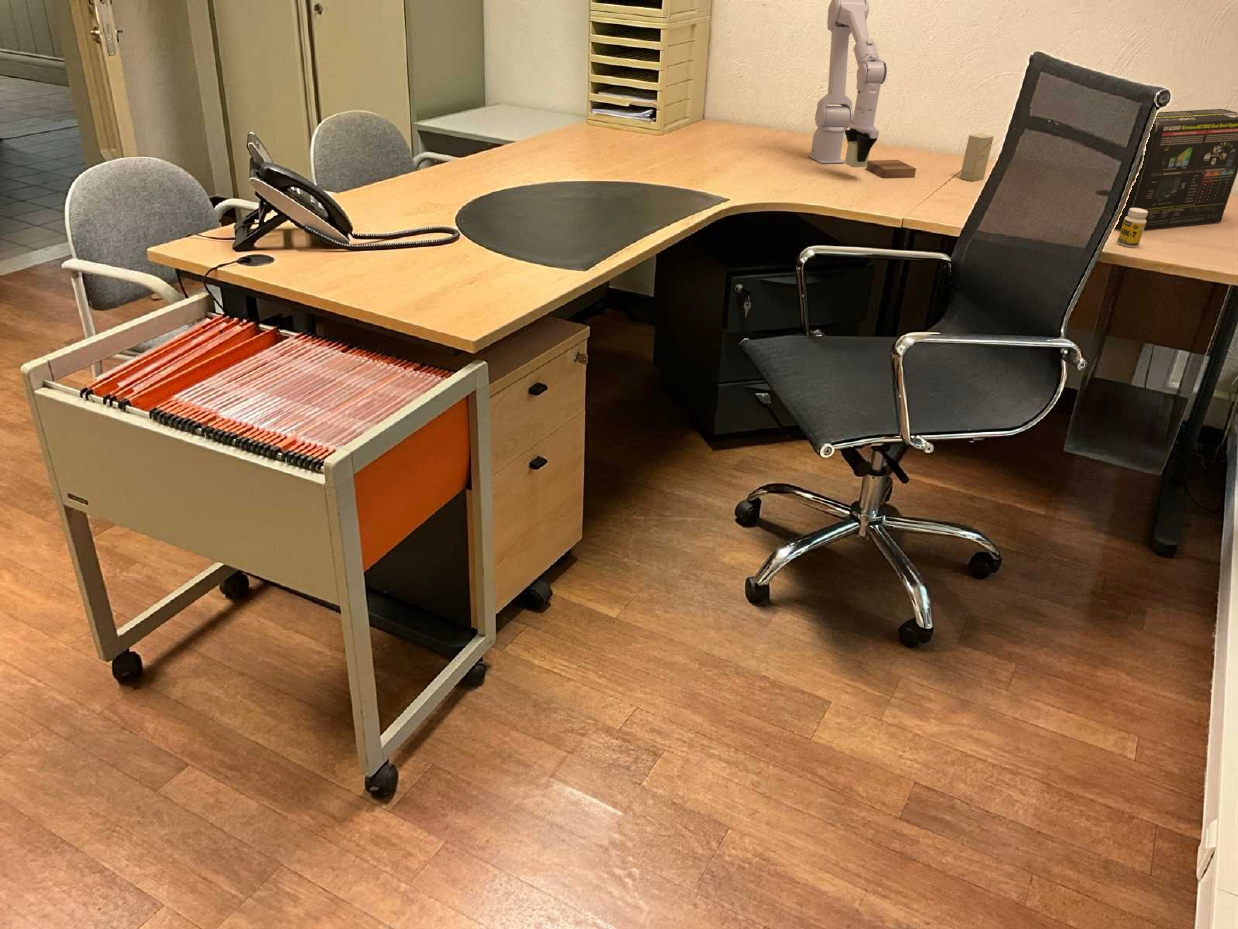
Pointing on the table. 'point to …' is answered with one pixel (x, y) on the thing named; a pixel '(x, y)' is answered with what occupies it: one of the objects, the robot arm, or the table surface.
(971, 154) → the skincare box
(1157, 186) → the router box
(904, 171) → the walnut block
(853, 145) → the sage block
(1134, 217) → the supplement bottle
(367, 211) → the table surface
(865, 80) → the robot arm
